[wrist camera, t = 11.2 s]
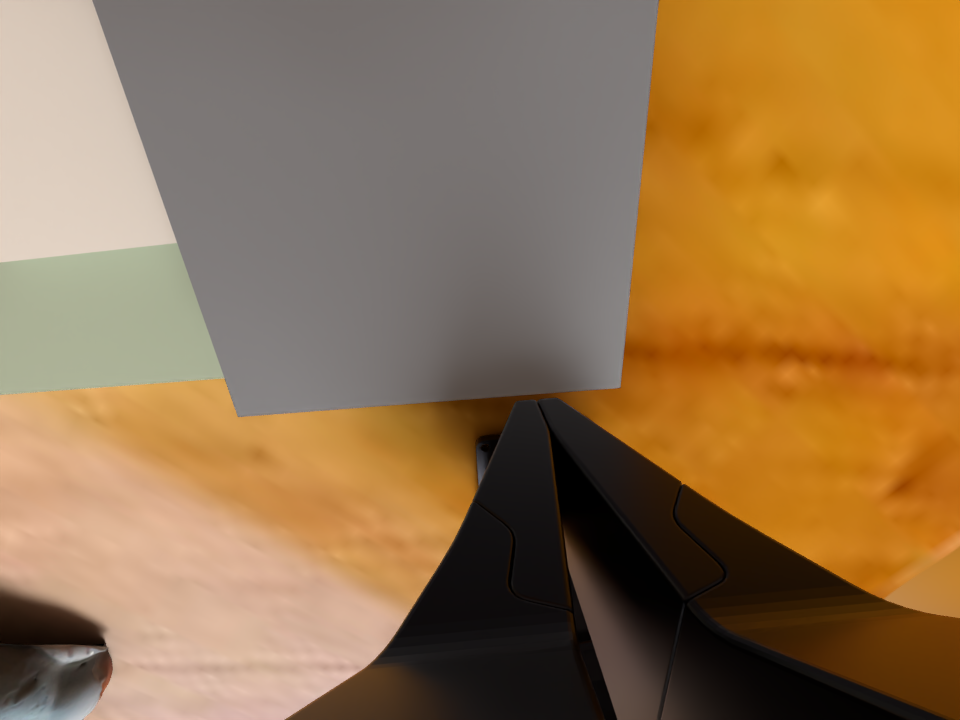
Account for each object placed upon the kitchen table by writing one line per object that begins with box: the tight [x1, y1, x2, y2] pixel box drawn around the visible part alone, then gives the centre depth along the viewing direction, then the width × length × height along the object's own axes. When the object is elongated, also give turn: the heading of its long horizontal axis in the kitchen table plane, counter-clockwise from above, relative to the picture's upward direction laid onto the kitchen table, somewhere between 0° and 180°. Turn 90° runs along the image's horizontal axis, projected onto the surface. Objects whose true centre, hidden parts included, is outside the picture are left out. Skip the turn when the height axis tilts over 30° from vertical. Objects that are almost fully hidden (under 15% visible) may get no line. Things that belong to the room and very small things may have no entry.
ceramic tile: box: [0, 0, 177, 263], centre depth 16 cm, size 9×9×2 cm
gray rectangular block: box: [92, 0, 659, 417], centre depth 16 cm, size 22×16×4 cm
